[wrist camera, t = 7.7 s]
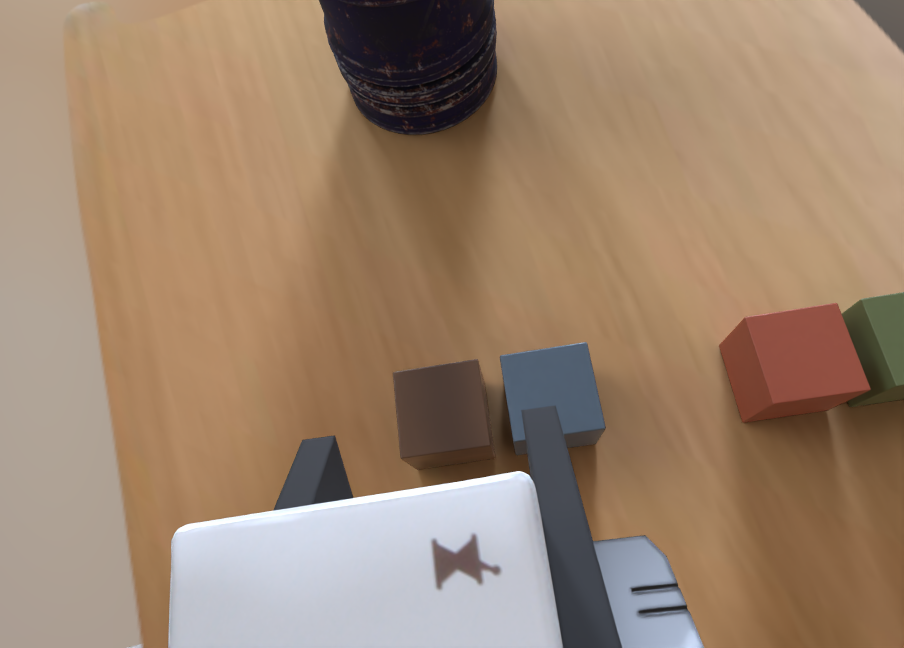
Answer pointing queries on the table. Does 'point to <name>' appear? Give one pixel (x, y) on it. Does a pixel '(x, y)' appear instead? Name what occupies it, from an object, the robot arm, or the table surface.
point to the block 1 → (443, 415)
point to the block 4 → (879, 346)
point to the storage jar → (414, 59)
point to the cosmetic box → (371, 573)
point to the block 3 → (792, 363)
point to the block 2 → (554, 392)
